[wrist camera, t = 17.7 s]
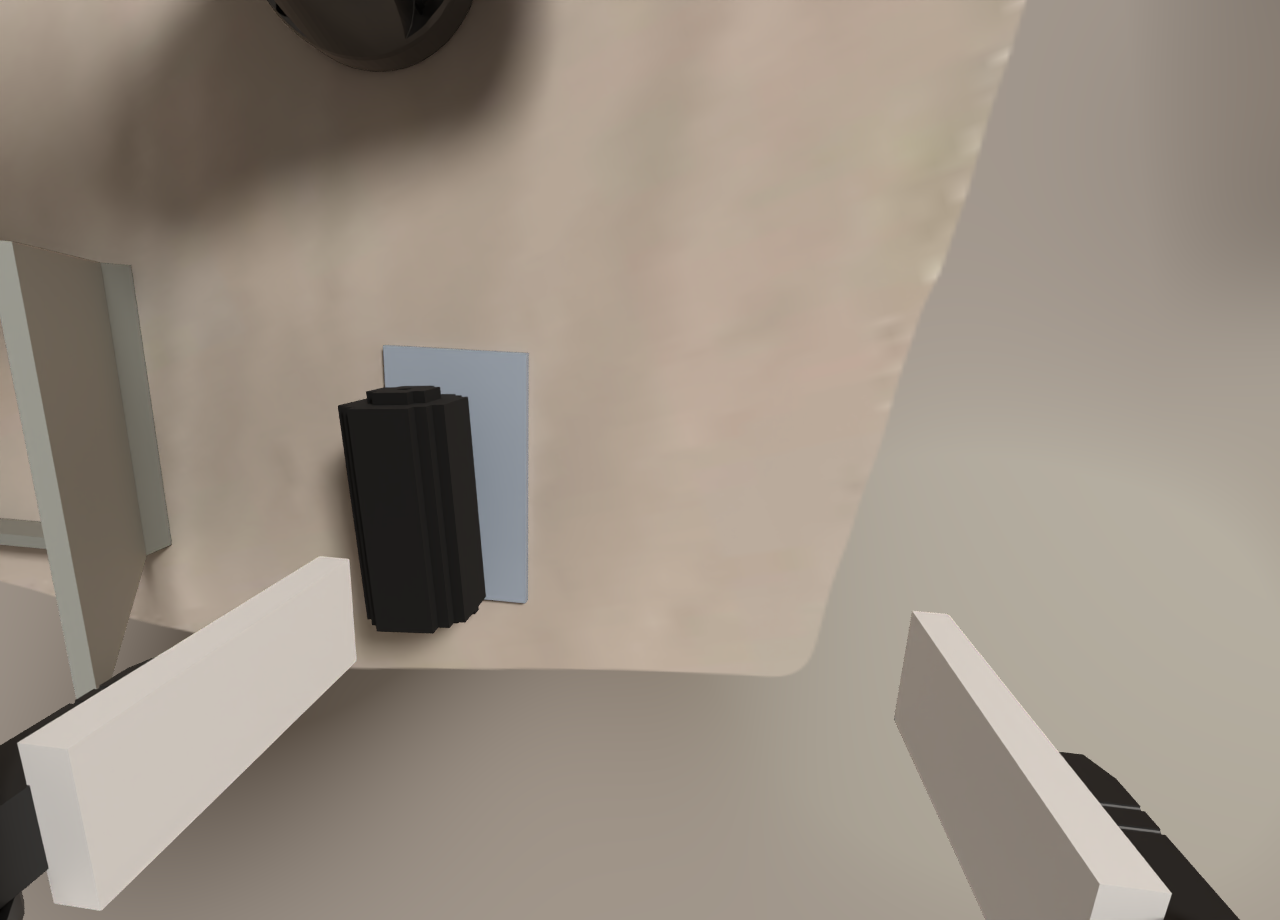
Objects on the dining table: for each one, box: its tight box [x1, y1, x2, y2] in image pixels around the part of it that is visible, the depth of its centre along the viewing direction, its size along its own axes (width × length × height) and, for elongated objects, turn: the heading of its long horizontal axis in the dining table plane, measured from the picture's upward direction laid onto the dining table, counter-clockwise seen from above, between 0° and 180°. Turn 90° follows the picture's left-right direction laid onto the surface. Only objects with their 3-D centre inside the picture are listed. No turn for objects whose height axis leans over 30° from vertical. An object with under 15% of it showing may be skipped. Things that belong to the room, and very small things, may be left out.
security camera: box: [338, 386, 486, 633], centre depth 43 cm, size 7×18×10 cm, turn 1°
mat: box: [383, 345, 528, 603], centre depth 47 cm, size 20×11×1 cm, turn 177°
